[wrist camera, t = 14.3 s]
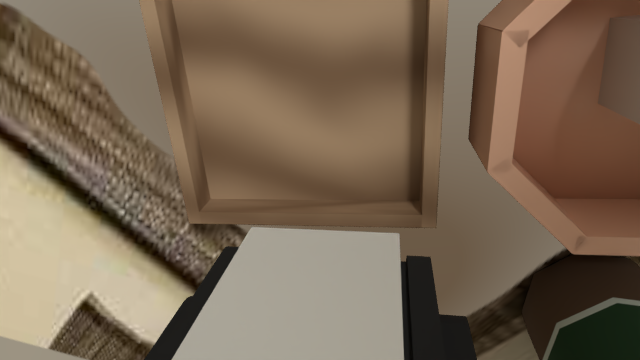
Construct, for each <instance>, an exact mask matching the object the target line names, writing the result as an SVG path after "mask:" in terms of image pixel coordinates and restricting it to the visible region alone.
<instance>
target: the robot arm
mask: <svg viewBox="0 0 640 360" xmlns="http://www.w3.org/2000/svg"><path fill="white" fill-rule="evenodd" d="M238 249H239V247H229V246H228V247H225V248H224V250H223V251H222V253H221V254H220V256H219V257H218V259H217V260H216V262H215V263H214V265H213V266H212V268H211V269H210V271H209V272H208V274H207V275H206V277H205V279H204V280H203V282H202V283H201V285H200V286H199V288H198V289H197V291H196V292H195V294H194V295H193V296H190V297H188V298H187V299H186V300H185V301H184V302H183V303H182V305H181V306H180V308H179V309H178V311H177V312H176V314H175V315H174V317H173V318H172V320H171V321H170V323H169V324H168V325H167V327H166V328H165V330H164V331H163V333H162V334H161V336H160V337H159V339H158V340H157V342H156V343H155V345H154V346H153V348H152V349H151V351H150V352H149V354H148V355H147V357H146V358H145V359H144V360H172V358H173V357H174V355H175V353H176V352H177V350H178V348H179V347H180V345H181V343H182V342H183V340H184V338H185V337H186V335H187V333H188V332H189V330H190V328H191V327H192V325H193V323H194V322H195V320H196V318H197V317H198V315H199V313H200V312H201V310H202V308H203V307H204V305H205V303H206V302H207V300H208V298H209V297H210V295H211V294H212V292H213V290H214V289H215V287H216V285H217V284H218V282H219V280H220V279H221V277H222V275H223V274H224V272H225V270H226V269H227V267H228V265H229V264H230V262H231V260H232V259H233V257H234V255H235V254H236V252H237V250H238ZM400 262H401V291H402V319H403V347H404V360H477V358H476V354H475V349H474V345H473V341H472V337H471V332H470V328H469V324H468V321H467V318H466V317H465V316H453V315H439V312H438V304H437V298H436V291H435V284H434V278H433V271H432V264H431V258H430V257H423V256H407V258H406V262H402V261H400Z"/></svg>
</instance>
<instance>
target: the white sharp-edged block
mask: <svg viewBox="0 0 640 360" xmlns="http://www.w3.org/2000/svg"><path fill="white" fill-rule="evenodd" d="M172 360H404V347H403V319H402V291H401V262H400V234H399V233H381V232H358V231H334V230H312V229H288V228H265V227H251V229H250V230H249V232H248V234H247V235H246V237H245V239H244V240H243V242H242V244H241V245H240V247H239V249H238V250H237V252H236V254H235V255H234V257H233V259H232V260H231V262H230V264H229V265H228V267H227V269H226V270H225V272H224V274H223V275H222V277H221V279H220V280H219V282H218V284H217V285H216V287H215V289H214V290H213V292H212V294H211V295H210V297H209V298H208V300H207V302H206V303H205V305H204V307H203V308H202V310H201V312H200V313H199V315H198V317H197V318H196V320H195V322H194V323H193V325H192V327H191V328H190V330H189V332H188V333H187V335H186V337H185V338H184V340H183V342H182V343H181V345H180V347H179V348H178V350H177V352H176V353H175V355H174V357H173V358H172Z"/></svg>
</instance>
